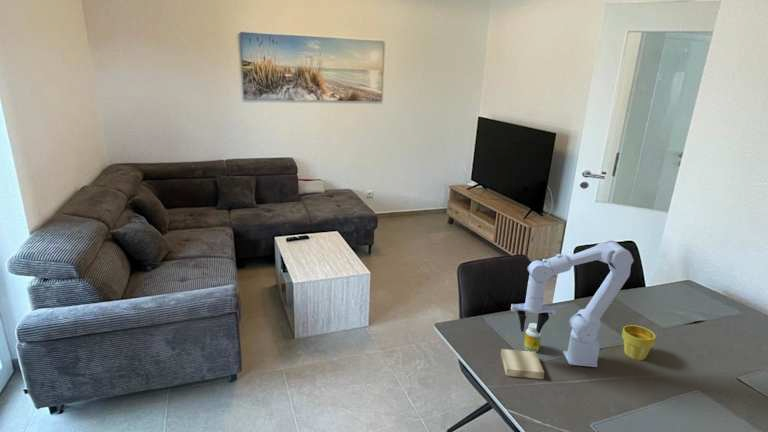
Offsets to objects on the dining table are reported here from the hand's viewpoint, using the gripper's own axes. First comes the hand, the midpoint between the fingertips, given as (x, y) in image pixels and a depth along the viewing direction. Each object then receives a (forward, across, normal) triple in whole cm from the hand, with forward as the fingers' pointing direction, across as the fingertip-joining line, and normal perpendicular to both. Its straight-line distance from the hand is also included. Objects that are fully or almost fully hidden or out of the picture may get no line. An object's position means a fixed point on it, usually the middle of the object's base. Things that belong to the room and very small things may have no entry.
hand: (529, 330), depth 155 cm
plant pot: (+11, -40, -7) cm, 42 cm away
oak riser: (+11, +3, +6) cm, 13 cm away
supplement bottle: (+11, -3, -6) cm, 13 cm away
